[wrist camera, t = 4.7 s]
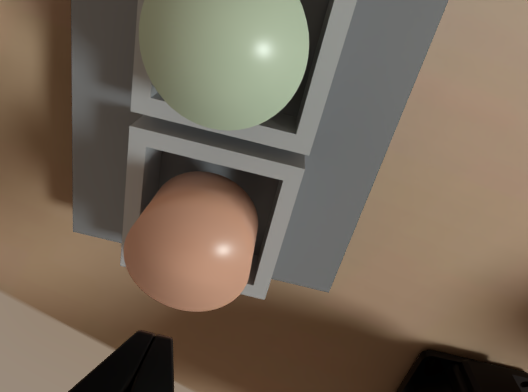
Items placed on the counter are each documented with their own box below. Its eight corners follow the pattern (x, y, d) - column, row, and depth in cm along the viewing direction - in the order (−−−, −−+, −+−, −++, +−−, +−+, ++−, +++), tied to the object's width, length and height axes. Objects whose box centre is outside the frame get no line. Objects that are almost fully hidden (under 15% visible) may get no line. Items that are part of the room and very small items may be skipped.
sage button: (287, 118, 12) (284, 146, 10) (164, 87, 12) (133, 109, 10) (324, -22, 10) (331, -27, 8) (180, -60, 10) (146, -77, 8)
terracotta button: (246, 274, 15) (236, 323, 13) (147, 250, 15) (120, 295, 13) (269, 186, 13) (262, 226, 11) (157, 159, 13) (127, 193, 11)
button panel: (326, 265, 20) (331, 325, 16) (93, 209, 19) (47, 258, 16) (550, -313, 10) (683, -476, 7) (108, -443, 10) (2, -688, 6)
